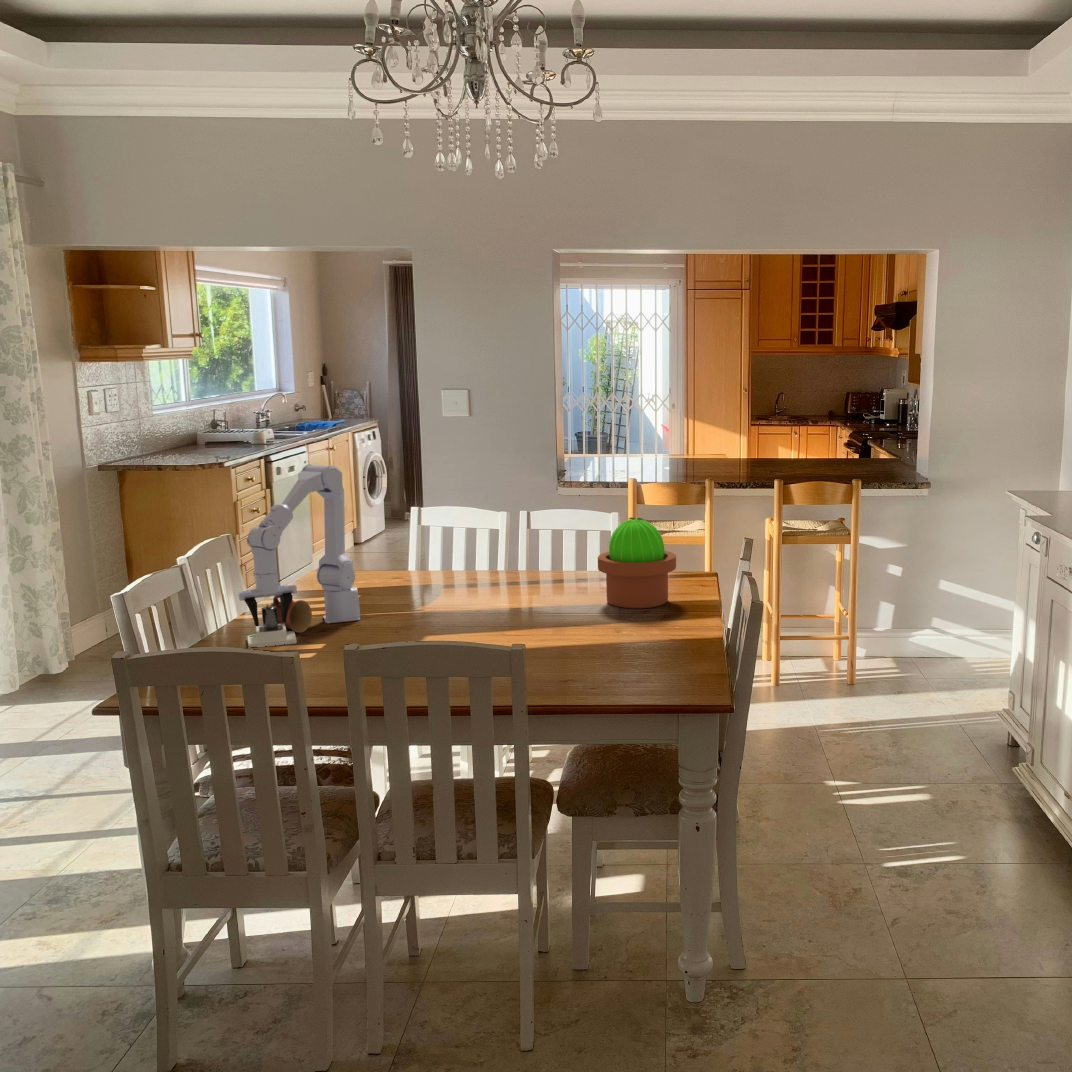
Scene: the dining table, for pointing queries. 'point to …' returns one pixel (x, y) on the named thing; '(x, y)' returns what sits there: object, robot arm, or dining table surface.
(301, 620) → the mug
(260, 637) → the charger
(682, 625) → the dining table surface
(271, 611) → the cell
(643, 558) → the potted cactus
